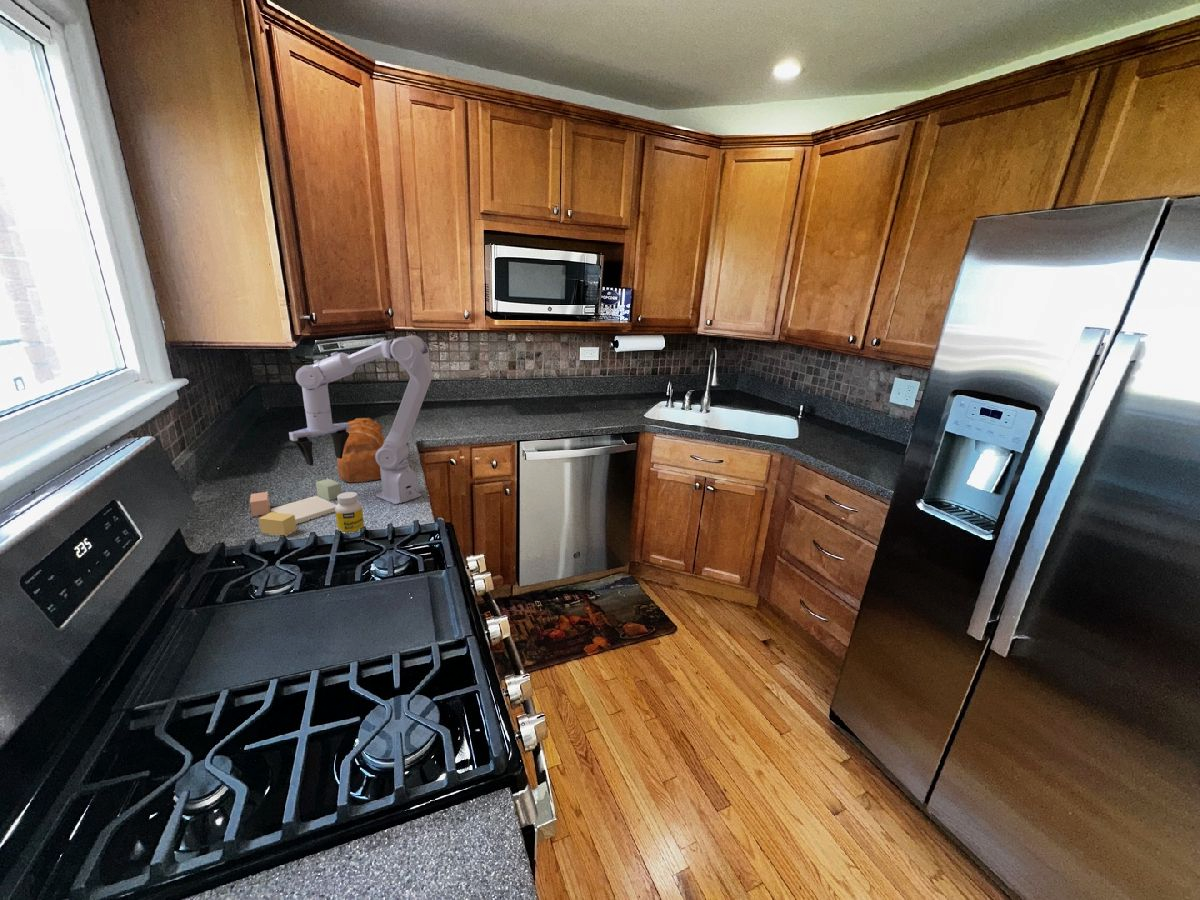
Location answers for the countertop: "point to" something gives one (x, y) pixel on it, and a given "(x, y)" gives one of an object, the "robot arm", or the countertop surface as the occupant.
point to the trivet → (306, 508)
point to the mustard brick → (277, 523)
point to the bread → (361, 451)
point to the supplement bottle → (349, 513)
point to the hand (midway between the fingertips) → (324, 461)
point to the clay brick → (260, 503)
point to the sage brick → (328, 489)
